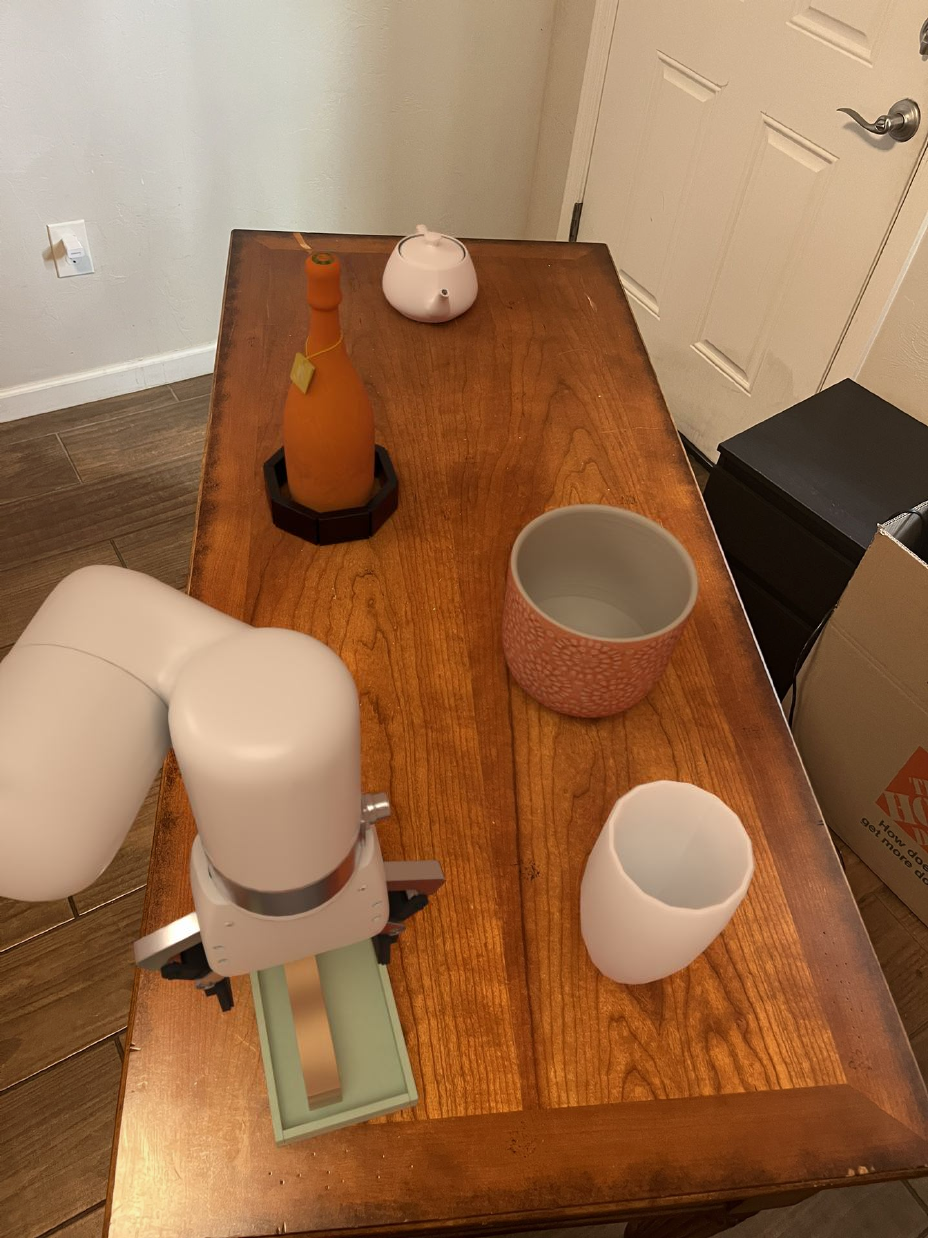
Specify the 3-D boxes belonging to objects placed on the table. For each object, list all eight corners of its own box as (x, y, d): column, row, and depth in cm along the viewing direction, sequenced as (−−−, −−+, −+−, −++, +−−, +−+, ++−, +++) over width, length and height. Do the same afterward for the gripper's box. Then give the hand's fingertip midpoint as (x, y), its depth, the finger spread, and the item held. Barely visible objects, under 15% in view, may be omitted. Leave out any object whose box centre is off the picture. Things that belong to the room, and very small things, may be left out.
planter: (477, 615, 99) (492, 509, 88) (629, 600, 103) (663, 496, 91) (513, 751, 89) (535, 651, 77) (682, 730, 92) (727, 631, 80)
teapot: (373, 268, 142) (374, 198, 134) (462, 266, 145) (468, 198, 137) (393, 353, 129) (395, 281, 120) (490, 350, 131) (499, 278, 123)
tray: (277, 1148, 66) (275, 1142, 65) (234, 874, 79) (232, 864, 77) (417, 1105, 69) (418, 1098, 67) (354, 846, 81) (354, 836, 80)
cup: (523, 973, 75) (567, 850, 59) (596, 881, 81) (654, 745, 65) (631, 1063, 72) (710, 958, 55) (700, 961, 77) (790, 838, 61)
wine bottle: (295, 467, 112) (277, 225, 89) (378, 474, 112) (381, 235, 90) (282, 525, 106) (259, 280, 83) (370, 532, 106) (370, 290, 83)
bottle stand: (280, 552, 103) (277, 526, 100) (259, 467, 112) (256, 440, 109) (407, 533, 107) (408, 507, 103) (377, 451, 115) (378, 425, 112)
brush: (385, 1089, 69) (386, 1073, 66) (301, 1114, 67) (298, 1100, 64) (335, 866, 80) (334, 844, 77) (261, 884, 78) (257, 862, 75)
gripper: (432, 732, 50) (419, 873, 63) (91, 811, 46) (153, 946, 59) (477, 858, 46) (453, 982, 59) (103, 959, 41) (167, 1069, 54)
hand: (303, 964), depth 59 cm, fingers open, 9 cm apart
